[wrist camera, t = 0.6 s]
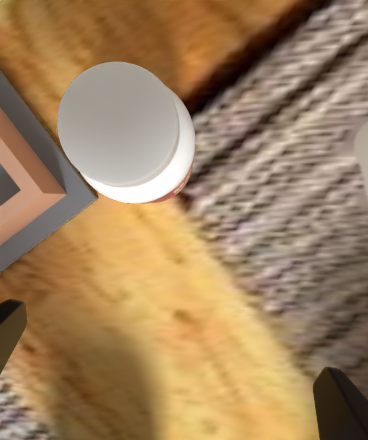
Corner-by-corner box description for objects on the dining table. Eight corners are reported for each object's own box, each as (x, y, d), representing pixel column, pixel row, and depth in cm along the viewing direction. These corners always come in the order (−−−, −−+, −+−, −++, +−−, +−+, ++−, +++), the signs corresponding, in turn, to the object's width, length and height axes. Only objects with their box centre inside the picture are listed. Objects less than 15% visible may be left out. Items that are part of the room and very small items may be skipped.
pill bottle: (191, 203, 22) (195, 209, 11) (112, 201, 22) (36, 204, 11) (194, 122, 21) (201, 41, 10) (113, 120, 21) (35, 36, 10)
